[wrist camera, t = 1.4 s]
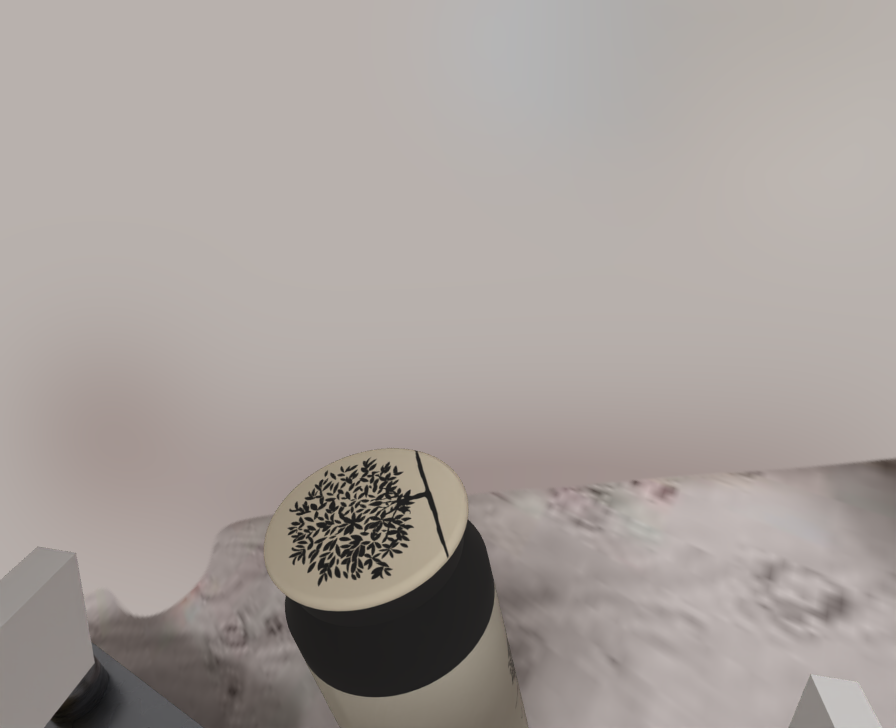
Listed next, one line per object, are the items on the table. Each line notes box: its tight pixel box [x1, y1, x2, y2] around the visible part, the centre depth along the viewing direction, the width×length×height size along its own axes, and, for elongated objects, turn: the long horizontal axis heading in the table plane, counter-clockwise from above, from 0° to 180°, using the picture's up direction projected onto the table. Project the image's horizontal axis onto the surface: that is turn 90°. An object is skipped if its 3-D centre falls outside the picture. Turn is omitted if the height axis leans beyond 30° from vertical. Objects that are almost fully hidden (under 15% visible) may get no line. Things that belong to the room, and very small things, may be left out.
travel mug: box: [264, 448, 528, 728], centre depth 29 cm, size 8×8×18 cm
